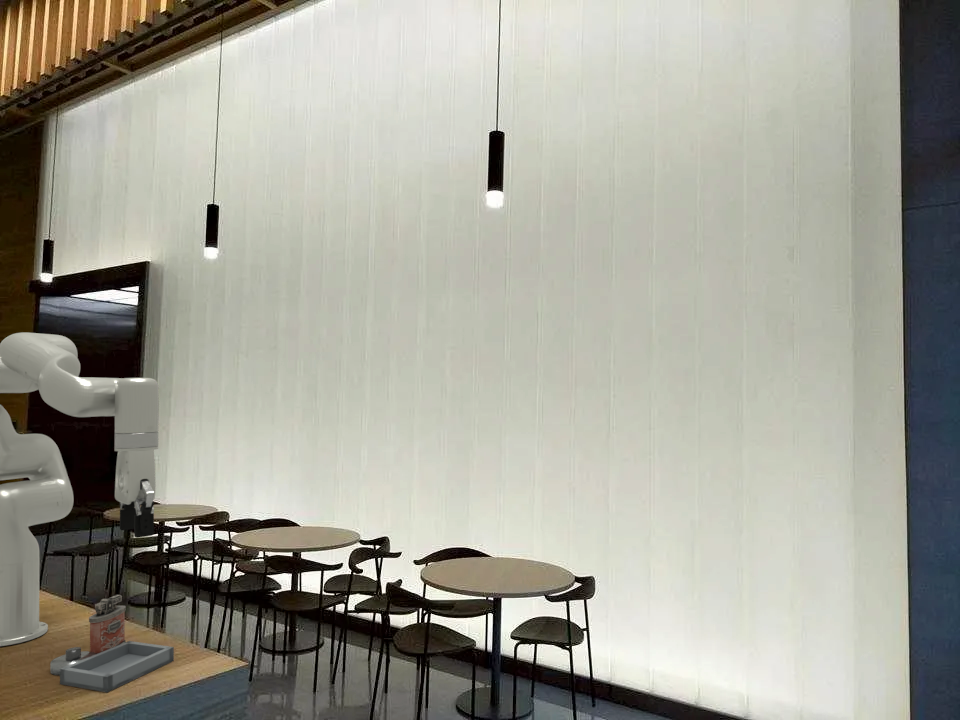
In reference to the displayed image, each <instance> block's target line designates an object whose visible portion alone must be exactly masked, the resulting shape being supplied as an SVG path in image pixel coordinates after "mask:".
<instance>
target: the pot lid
mask: <svg viewBox="0 0 960 720" xmlns="http://www.w3.org/2000/svg"><path fill="white" fill-rule="evenodd" d="M93 655H95V653H94V652H90V650H89V651H88V650H87V651H86V650H85V651H83V650H82V647H80V646H75V647H70V648H68V649H66V650H65V654H63V655H60V656H58V657H55V658H53V659H52V660H51V661H50V669H49V670H50V674H51V675H53V676H59V677H60V669H61V668H64V667H66V666H69V665H71V664H74V663H76V662H79V661H81V660H83V659H86V658H88V657H91V656H93Z"/></svg>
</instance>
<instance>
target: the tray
mask: <svg viewBox="0 0 960 720" xmlns="http://www.w3.org/2000/svg"><path fill="white" fill-rule="evenodd" d="M174 653H175V649H174V646H168V645H162V644H161V645H160V644H155V643H154V644H153V643H147V642H139V641H133V640H129V641H126V642H125V643H123V644H120V645H118V646H115V647H113V648H110V649H108V650H106V651H103V652H101V653H98V654H96V655H93V656H91V657H88V658H86V659H83V660H81V661H79V662H76V663H74V664H71V665H69V666H66V667H64V668H61V669H60V676H59V685H63V686H67V687H68V686H69V687H75V688H80V689H85V690H90V691H91V690H92V691H97V692H102V693H109V692H111V691H113V690H116V689H118V688H120V687H122V686H124V685H126V684H129V683H130V682H133V681H135V680H137V679H139V678H141V677H143V676H145V675H147V674H149V673H151V672H153V671H156V670H157V669H160V668H162V667H164V666H165V665H166V666H167V665H169V664H171V663H173V662H174V660H175V659H174V658H175V657H174ZM172 661H173V662H172Z"/></svg>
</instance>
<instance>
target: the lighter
mask: <svg viewBox="0 0 960 720" xmlns="http://www.w3.org/2000/svg"><path fill="white" fill-rule="evenodd" d="M122 597H123V596H122V595H121V594H115V595H113V596H111V597H109V598H102V599H100V602H97V603H96V604H94V611H95V613H93V614H92V615H91V616H88V622H89V652H94V653H95V655H96V654H98V653H101V652H103V651H106V650H108V649H110V648H113V647H115V646H118V645H120V644H123V643H125V642H127V641H126V639H125V638H126V637H125V631H126V629H125V624H126V622H125V619H126V618H125V612H126V609H127V608H126V607H127V606H126V605H117V604H118V603H120V602H122V601H123V600H122V599H123V598H122Z"/></svg>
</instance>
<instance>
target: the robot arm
mask: <svg viewBox="0 0 960 720" xmlns="http://www.w3.org/2000/svg"><path fill="white" fill-rule="evenodd" d="M78 354H79V353H78V348H77V347H76V345H75V343H74V342H73V341H72V340H71V339H70V338H68V337H66V336H65V335H64V336H63V335H61V334H60V335H59V334H53V333H52V334H51V333H36V332H29V331H28V332H23V331H22V332H16V333H12V334H10V335H8V336H7V337H5V338H4V339H3V340H1V342H0V394H24V393H26V394H27V393H32V392H35V391H39V394H40V397H41V399H42V400H43V401H44V403H46V404H47V405H48V406H50V407H51V408H53V409H54V410H57V411H59V412H60V413H63V414H65V415H67V416H71V417H76V418H91V417H114V452H117V456H116V465H115V479H114V480H115V481H114V499H115V500H116V501H117V502H119V508H120V509H119V531H127V530H134V531H133V533H134V535H133V536H134V537H135V538H143V537H144V538H145V537H150V536H153V535H154V533H155V532H154V531H155V527H154V525H155V523H154V521H155V520H154V518H155V508H154V506H155V501H154V500H155V499H156V486H157V485H156V482H157V481H156V461H155V450H159V407H160V406H159V405H160V404H159V402H160V401H159V400H160V399H159V393H160V392H159V389H160V388H159V387H160V386H159V383H158V381H157V379H154V378H151V377H124V378H122V377H121V378H119V377H92V376H91V377H81V376H80V373H81V363H80V360H79V358H78V357H79V356H78ZM24 478H25V479H26V478H28V479H29V480H22V481H21V480H20V481H13V482H6V483H2V484H0V647H5V646H11V645H17V644H21V643H25V642H29V641H31V640H34V639H36V638H39V637H41V636H43V635H45V634H46V633H47V632H48V629H49V626H48V625H49V624H48V623H47V622H43V621H40V545H39V542H38V540H37V538H36V537H35V536H34V535H33V533H32V532H31V530H30V527H31V526H36V525H41V524H46V523H50V522H55V521H59V520H61V519H64V518H65V517H67V516H68V515H69V514H70V513H71V511H72V509H73V506H74V503H75V502H74V490H73V487H72V485H71V480H70V478H69V476H68V471H67V468H66V465H65V463H64V460H63V457H62V453H61V451H60V449H59V447H58V445H57V444H56V442H55V441H54V440H53V439H52V438H51V437H50V436H48V435H46V434H43V433H21V434H20V433H18V432H17V431H16V429H15V427H14V425H13V422H12V418H11V416H10V414H9V413H8V411H7V409H5V408H4V406H3V405H2V404H0V481H6V480H15V479H24Z"/></svg>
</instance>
